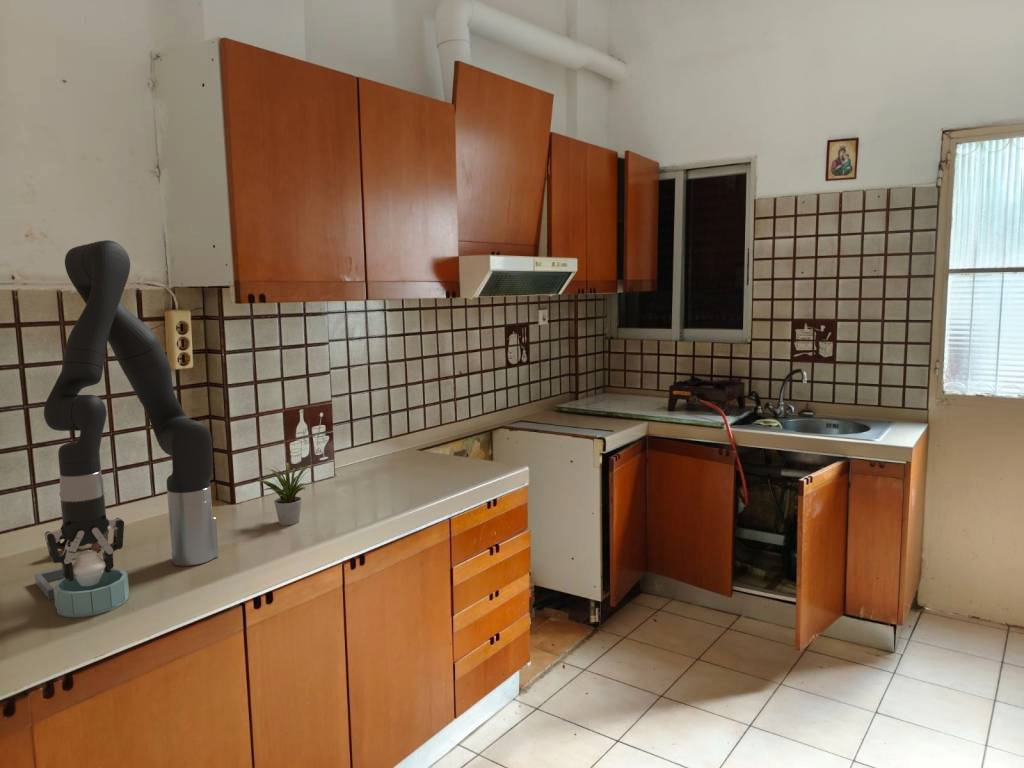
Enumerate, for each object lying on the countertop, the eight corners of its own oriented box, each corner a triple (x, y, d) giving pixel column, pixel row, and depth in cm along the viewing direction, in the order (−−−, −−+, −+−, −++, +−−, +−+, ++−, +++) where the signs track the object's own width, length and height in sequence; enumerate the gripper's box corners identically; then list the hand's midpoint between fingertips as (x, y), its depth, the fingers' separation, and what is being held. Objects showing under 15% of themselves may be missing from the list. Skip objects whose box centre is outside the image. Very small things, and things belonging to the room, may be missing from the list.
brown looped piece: (88, 543, 188) (102, 516, 186) (105, 566, 183) (119, 538, 182) (39, 545, 177) (53, 516, 176) (55, 570, 173) (70, 540, 171)
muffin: (71, 581, 151) (68, 548, 150) (105, 575, 154) (103, 542, 153) (72, 592, 146) (70, 557, 145) (108, 585, 149) (105, 551, 148)
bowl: (117, 585, 159) (115, 563, 158) (136, 603, 150) (134, 580, 149) (50, 603, 151) (47, 580, 150) (66, 623, 142) (63, 598, 141)
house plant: (300, 509, 212) (297, 453, 210) (329, 519, 203) (326, 460, 200) (254, 521, 201) (251, 462, 199) (282, 532, 192) (279, 471, 190)
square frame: (96, 568, 169) (96, 559, 169) (112, 583, 161) (112, 574, 160) (35, 583, 161) (34, 574, 161) (49, 599, 152) (48, 590, 152)
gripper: (44, 506, 140) (52, 591, 142) (127, 491, 150) (133, 571, 152) (36, 497, 145) (43, 580, 147) (116, 484, 155) (122, 561, 157)
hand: (89, 575), depth 150 cm, fingers closed on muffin, 6 cm apart
